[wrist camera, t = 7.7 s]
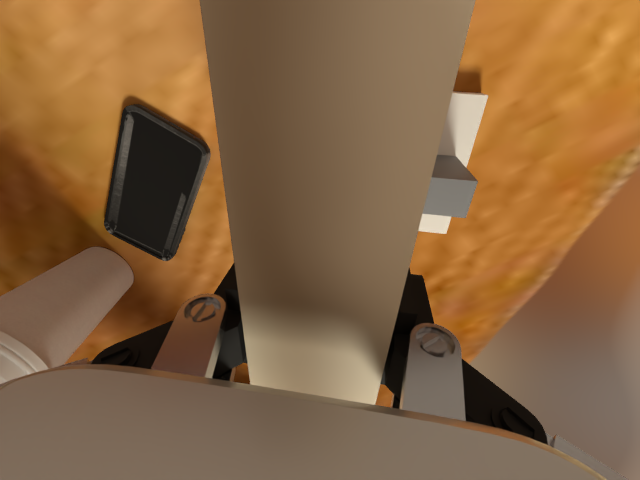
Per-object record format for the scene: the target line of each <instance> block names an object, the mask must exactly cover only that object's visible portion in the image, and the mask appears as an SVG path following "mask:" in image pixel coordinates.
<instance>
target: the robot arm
mask: <svg viewBox="0 0 640 480" xmlns="http://www.w3.org/2000/svg"><path fill="white" fill-rule="evenodd" d="M242 363H247V355H246V347H245V340H244V332H243V325H242V317H241V309H240V302H239V294H238V287H237V279H236V272H235V264H233V265H232V267H231V268H230V270H229V271H228V273H227V274H226V276H225V277H224V279H223V280H222V282H221V283H220V285H219V287H218V288H217V290H216V291H215V293H214V294H201V295H197V296H194V297H192V298H190V299H188V300H187V301H186V302H185V303H183V305H182V306H181V307H180V309H179V311H178V313H177V315H176V317H175V319H174V320H173V321H171V322H168V323H166V324H163V325H161V326H158V327H156V328H153V329H151V330H149V331H146V332H144V333H141V334H139V335H136V336H134V337H131V338H129V339H126V340H124V341H122V342H119V343H117V344H114V345H112V346H110V347H108V348H106V349H105V350H103V351H102V352H101V353H99V354H98V355H97V356H96V357H95V358H94V360H93V361H89V360H88V358H86V359H82V360H79V361H75V362H72V363H68V364H65V365H61V366H58V367H54V368H51V369H47V370H43V371H39V372H35V373H31V374H28V375H25V376H22V377H19V378H16V379H12V380H10V381H7V382H5V383H2V384H0V480H629V479H627V478H625V477H624V476H622V475H621V474H619V473H618V472H616V471H614V470H613V469H611V468H609V467H608V466H606V465H605V464H603V463H601V462H600V461H598V460H596V459H595V458H593V457H592V456H590V455H588V454H587V453H585V452H584V451H582V450H581V449H579V448H577V447H576V446H574V445H572V444H571V443H569V442H568V441H566V440H564V439H563V438H561V437H560V436H558V435H555V436H554V437H551V436H550V435H548V434H547V433H545V431H544V429H543V427H542V425H541V424H540V422H539V421H538V420H537V418H536V417H535V416H534V415H532V413H531V412H529V411H528V410H527V409H526V408H525V407H523V406H522V405H521V404H520V403H518V402H517V401H516V400H514V399H513V398H512V397H511V396H509V395H508V394H507V393H505V392H504V391H503V390H502V389H500V388H499V387H498V386H496V385H495V384H494V383H493V382H491V381H490V380H489V379H487V378H486V377H485V376H484V375H482V374H481V373H479V372H478V371H477V370H476V369H474V368H473V367H472V366H471V365H469V364H468V363H467V362H465V361H464V360H463V359H462V358H461V347H460V343H459V341H458V340H457V338H456V337H455V336H454V335H453V334H452V333H451V332H450V331H449V330H447V329H446V328H444V327H442V326H439V325H437V324H434V321H433V317H432V312H431V308H430V304H429V300H428V296H427V291H426V287H425V283H424V279H423V276H422V275H414V274H410V268H409V270H408V274H407V278H406V282H405V286H404V290H403V294H402V298H401V302H400V306H399V310H398V314H397V318H396V322H395V326H394V330H393V334H392V338H391V342H390V346H389V350H388V354H387V358H386V362H385V366H384V370H383V374H382V379H381V383H380V384H384V385H386V386H387V387H388V388H389V390H390V391H391V392H392V393H393V395H392V402H391V408H390V407H384V406H378V405H372V404H366V403H360V402H354V401H348V400H342V399H336V398H330V397H324V396H318V395H312V394H306V393H300V392H294V391H288V390H281V389H275V388H269V387H263V386H257V385H251V384H244V383H238V382H234V377H235V372H236V366H238V365H240V364H242Z"/></svg>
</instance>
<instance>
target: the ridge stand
mask: <svg viewBox="0 0 640 480" xmlns="http://www.w3.org/2000/svg"><path fill="white" fill-rule="evenodd" d="M487 98H488V95H486V94H483V93H471V92H454V91H453V93H452V97H451V101H450V105H449V109H448V113H447V117H446V121H445V125H444V129H443V133H442V137H441V141H440V145H439V149H438V153H437V157H436V161H435V165H434V169H433V173H432V177H431V181H430V185H429V189H428V193H427V197H426V201H425V205H424V209H423V213H422V217H421V221H420V225H419V230H418V231H423V232H433V233H442V234H446V233H447V229H448V226H449V223H450V220H451V217H461V218H466V215H467V212H468V209H469V206H470V203H471V200H472V197H473V194H474V191H475V188H476V185H477V182H478V181H477V180H476V179H475V177H474V176H473V175H472V174H471V173H470V172H469V171H468V169H467V168H466V167H467V164H468V161H469V157H470V154H471V151H472V148H473V144H474V141H475V138H476V134H477V131H478V128H479V125H480V121H481V118H482V115H483V112H484V108H485V105H486V102H487Z"/></svg>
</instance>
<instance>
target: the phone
mask: <svg viewBox="0 0 640 480" xmlns="http://www.w3.org/2000/svg"><path fill="white" fill-rule="evenodd" d="M172 125H173V126H172ZM174 126H175V127H174ZM177 128H178V129H177ZM194 137H195V138H194ZM210 155H211V153H210V149H209V147H208V145H207V144H206V143H205V142H204V141H202V140H201V139H199V138H197V137H196V136H194V135H192V134H191V133H189V132H187V131H185V130H184V129H182V128H180V127H178V126H177V125H175V124H173V123H172V122H170V121H168V120H166V119H165V118H163V117H161V116H160V115H158V114H156V113H154V112H153V111H151V110H149V109H148V108H146V107H144V106H142V105H139V104H134V105H129V106H127V107H125V108H124V110H123V113H122V119H121V125H120V131H119V137H118V143H117V149H116V155H115V161H114V167H113V173H112V179H111V185H110V191H109V197H108V203H107V209H106V215H105V221H104V226H105V228H106V230H107V231H108V232H109V233H110V234H112V235H113V236H115V237H117V238H119V239H121V240H123V241H125V242H127V243H129V244H131V245H133V246H135V247H137V248H139V249H141V250H143V251H145V252H147V253H149V254H151V255H153V256H155V257H157V258H158V259H161V260H163V261H168V260H170V259H172V258H173V257H174V256H175V254H176V252H177V250H178V247H179V244H180V242H181V239H182V235H183V234H184V231H185V227H186V224H187V221H188V218H189V216H190V213H191V210H192V207H193V204H194V202H195V199H196V196H197V193H198V190H199V188H200V185H201V182H202V179H203V176H204V174H205V171H206V168H207V165H208V162H209V160H210Z"/></svg>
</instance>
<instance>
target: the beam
mask: <svg viewBox="0 0 640 480" xmlns="http://www.w3.org/2000/svg"><path fill="white" fill-rule="evenodd" d="M474 4H475V0H200V6H201V13H202V21H203V29H204V36H205V44H206V51H207V59H208V67H209V74H210V82H211V89H212V97H213V105H214V112H215V120H216V127H217V135H218V143H219V150H220V158H221V165H222V173H223V180H224V188H225V196H226V203H227V211H228V218H229V226H230V234H231V241H232V249H233V256H234V264H235V272H236V279H237V287H238V294H239V302H240V309H241V317H242V325H243V332H244V340H245V347H246V355H247V363H248V370H249V378H250V384H251V385H257V386H263V387H269V388H275V389H281V390H288V391H294V392H300V393H306V394H312V395H318V396H324V397H330V398H336V399H342V400H348V401H354V402H360V403H366V404H372V405H375V403H376V399H377V395H378V391H379V387H380V383H381V379H382V374H383V370H384V366H385V362H386V358H387V354H388V350H389V346H390V342H391V338H392V334H393V330H394V326H395V322H396V318H397V314H398V310H399V306H400V302H401V298H402V294H403V290H404V286H405V282H406V278H407V274H408V270H409V266H410V262H411V258H412V254H413V250H414V246H415V242H416V238H417V234H418V230H419V225H420V221H421V217H422V213H423V209H424V205H425V201H426V197H427V193H428V189H429V185H430V181H431V177H432V173H433V169H434V165H435V161H436V157H437V153H438V149H439V145H440V141H441V137H442V133H443V129H444V125H445V121H446V117H447V113H448V109H449V105H450V101H451V97H452V93H453V89H454V85H455V81H456V76H457V72H458V68H459V64H460V60H461V56H462V52H463V48H464V44H465V40H466V36H467V32H468V28H469V24H470V20H471V16H472V12H473V8H474Z"/></svg>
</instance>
